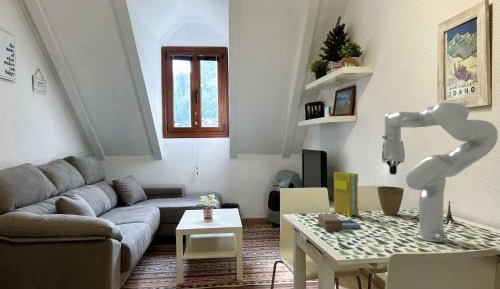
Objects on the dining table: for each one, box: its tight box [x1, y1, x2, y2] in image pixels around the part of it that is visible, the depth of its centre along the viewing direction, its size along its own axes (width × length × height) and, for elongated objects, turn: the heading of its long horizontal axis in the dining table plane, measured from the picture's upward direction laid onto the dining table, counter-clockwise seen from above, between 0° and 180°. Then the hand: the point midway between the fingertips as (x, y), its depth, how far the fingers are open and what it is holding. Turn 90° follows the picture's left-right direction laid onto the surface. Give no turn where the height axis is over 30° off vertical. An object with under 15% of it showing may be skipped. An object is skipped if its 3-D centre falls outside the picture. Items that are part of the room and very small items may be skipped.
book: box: [333, 171, 359, 217], centre depth 204 cm, size 17×7×25 cm, turn 22°
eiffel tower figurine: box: [444, 200, 457, 225], centre depth 178 cm, size 15×10×13 cm
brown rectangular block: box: [317, 213, 343, 232], centre depth 173 cm, size 16×8×5 cm, turn 2°
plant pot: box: [376, 185, 405, 217], centre depth 202 cm, size 15×15×16 cm
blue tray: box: [340, 219, 361, 230], centre depth 173 cm, size 11×16×2 cm
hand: (393, 174), depth 169 cm, fingers closed
